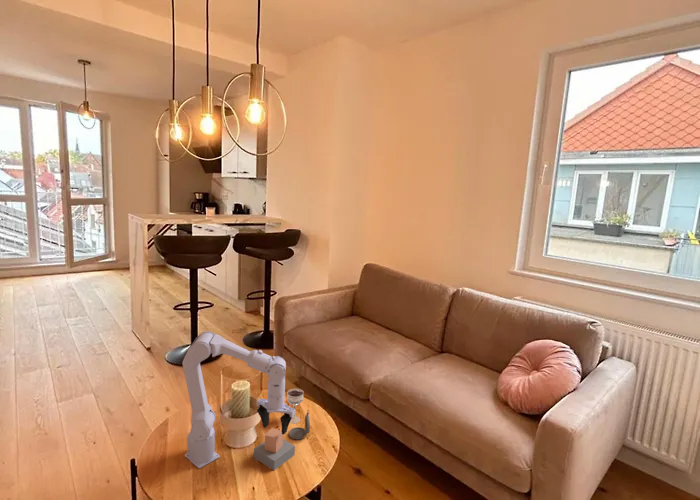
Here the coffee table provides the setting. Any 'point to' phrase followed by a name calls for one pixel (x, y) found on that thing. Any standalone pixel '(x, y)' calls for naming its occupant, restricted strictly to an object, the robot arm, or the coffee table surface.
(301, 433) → the pocket watch
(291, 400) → the wineglass
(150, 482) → the coffee table surface
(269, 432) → the terracotta block
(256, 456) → the slate slab
